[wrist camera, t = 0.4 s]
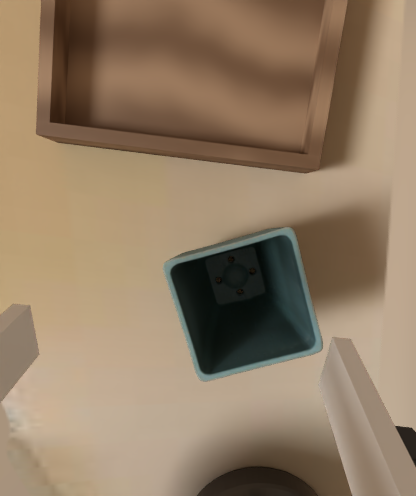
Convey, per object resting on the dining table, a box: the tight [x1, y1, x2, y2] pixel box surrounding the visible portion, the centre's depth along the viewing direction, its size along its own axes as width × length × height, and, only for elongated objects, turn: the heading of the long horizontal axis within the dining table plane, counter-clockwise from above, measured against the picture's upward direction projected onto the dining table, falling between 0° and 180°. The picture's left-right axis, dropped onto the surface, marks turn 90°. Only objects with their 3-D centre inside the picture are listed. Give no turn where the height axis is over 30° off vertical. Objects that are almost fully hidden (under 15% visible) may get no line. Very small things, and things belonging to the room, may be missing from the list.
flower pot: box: [163, 227, 323, 382], centre depth 25 cm, size 9×9×9 cm
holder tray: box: [36, 0, 348, 173], centre depth 25 cm, size 16×22×4 cm
